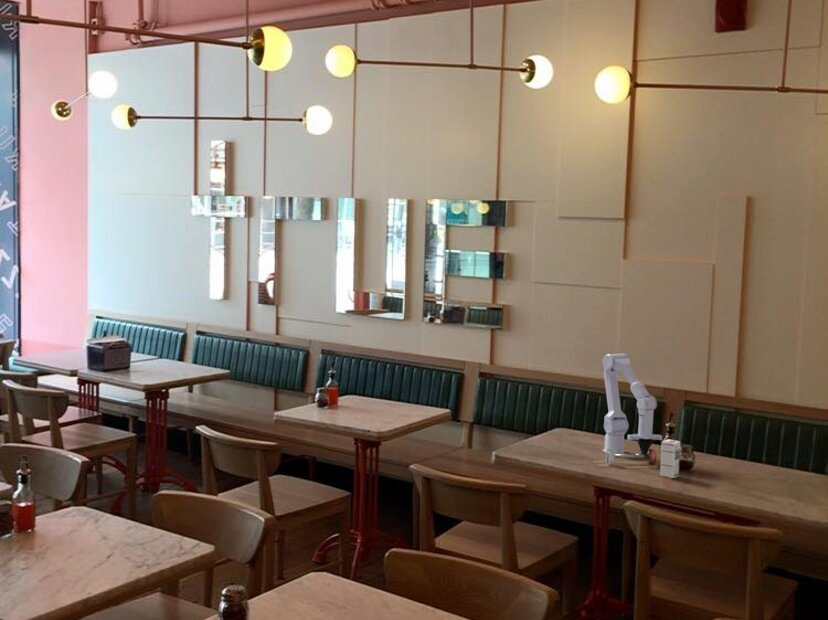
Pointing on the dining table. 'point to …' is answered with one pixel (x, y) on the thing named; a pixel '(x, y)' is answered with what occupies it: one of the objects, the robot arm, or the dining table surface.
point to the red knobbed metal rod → (641, 456)
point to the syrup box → (670, 458)
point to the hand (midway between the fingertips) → (643, 456)
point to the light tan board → (627, 464)
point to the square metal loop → (609, 458)
